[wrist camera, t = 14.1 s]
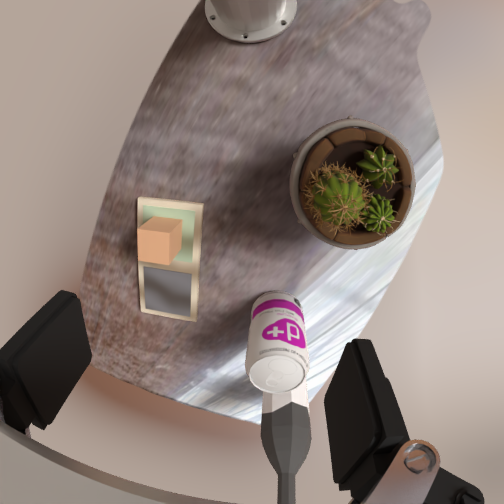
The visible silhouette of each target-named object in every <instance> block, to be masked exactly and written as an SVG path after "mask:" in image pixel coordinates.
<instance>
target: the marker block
mask: <svg viewBox="0 0 504 504" xmlns="http://www.w3.org/2000/svg"><path fill="white" fill-rule="evenodd" d="M182 221H183V220H182V219H174V218H166V217H157V216H153V217H152V218H151V219H149V220H148V221H147V222H145V223H144V224H143V225H142V226H140V227H139V228H138V229H137V237H138V261H144V262H151V263H157V264H163V265H170V263H171V262H172V261H173V259H174V258H175V256H176V255H177V254H178V252H179V251H180V250H181V244H182Z"/></svg>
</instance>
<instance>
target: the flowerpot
mask: <svg viewBox="0 0 504 504" xmlns="http://www.w3.org/2000/svg"><path fill="white" fill-rule="evenodd" d="M354 127H358V128H354ZM293 157H294V161H293V164H292V168H291V173H290V196H291V201H292V205H293V208H294V211H295V213H296V215H297V217H298V218H299V219H298V223H299V224H303V226H304V227H305V228H306V229H307V230H308V231H309V232H310V233H312V234H313V235H314V236H316V237H317V238H319V239H320V240H322V241H324V242H326V243H328V244H330V245H333V246H336V247H340V248H344V249H354V250H357V249H363V248H368V247H371V246H374V245H376V244H378V243H380V242H381V241H383V240H385V239H386V237H387V236H388V237H389V236H390V235H391V234H393V233H394V232H395V231H397V230H398V229H399V228H400V227H401V226H402V224H403V223H404V221H405V219H406V217H407V215H408V213H409V211H410V208H411V205H412V202H413V197H414V193H415V187H416V182H415V175H414V167H413V162H412V160H411V158H410V156H409V154H408V150H407V149H405V147H404V146H403V145H402V143H401V142H400V141H399V140H398V139H397V138H396V137H395V136H393V135H392V134H391V133H390V132H388V131H387V130H386V129H384V128H382V127H380V126H379V125H376V124H374V123H371V122H369V121H366V120H362V119H357V118H353V117H352V116H351V115H350V116H348V118H347V119H341V120H337V121H334V122H331V123H329V124H327V125H325V126H323V127H321V128H319V129H317V130H316V131H315V132H313V133H312V134H311V135H310V136H309V137H308V138H307V139H306V140H305V141H304V142H303V143H302V144H301V146H300V147H299V149H298V152H296V153H294V154H293Z"/></svg>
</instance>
